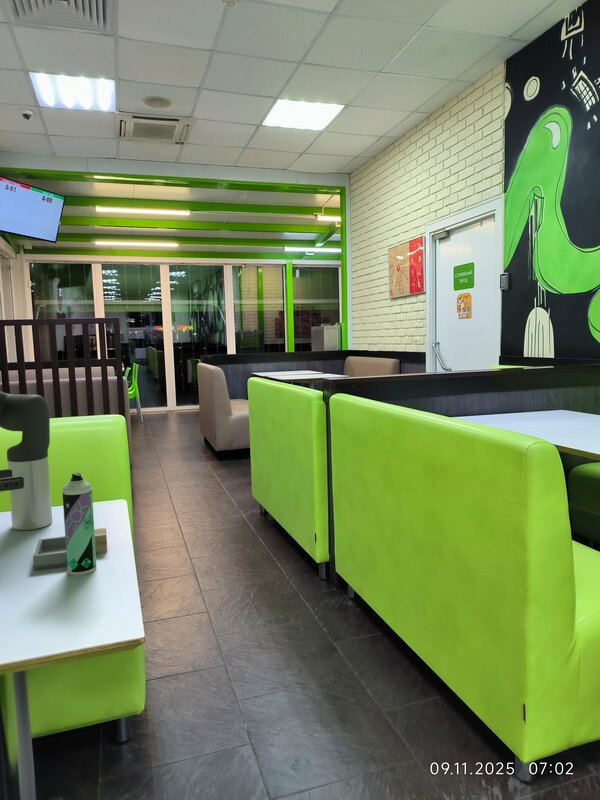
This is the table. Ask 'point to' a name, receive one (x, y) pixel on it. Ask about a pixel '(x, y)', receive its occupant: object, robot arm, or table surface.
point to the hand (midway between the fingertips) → (17, 478)
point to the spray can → (79, 526)
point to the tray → (50, 553)
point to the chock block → (100, 540)
